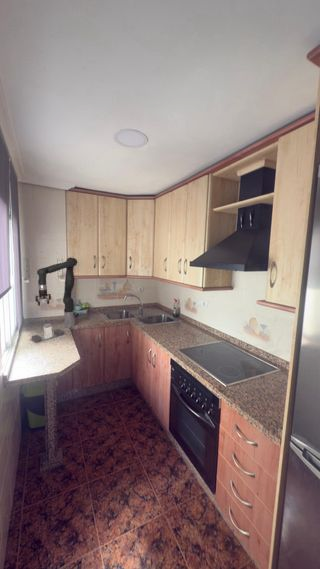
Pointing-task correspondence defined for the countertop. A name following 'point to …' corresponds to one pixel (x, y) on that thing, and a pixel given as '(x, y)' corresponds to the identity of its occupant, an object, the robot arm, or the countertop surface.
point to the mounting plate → (41, 339)
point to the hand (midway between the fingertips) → (43, 304)
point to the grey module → (47, 330)
